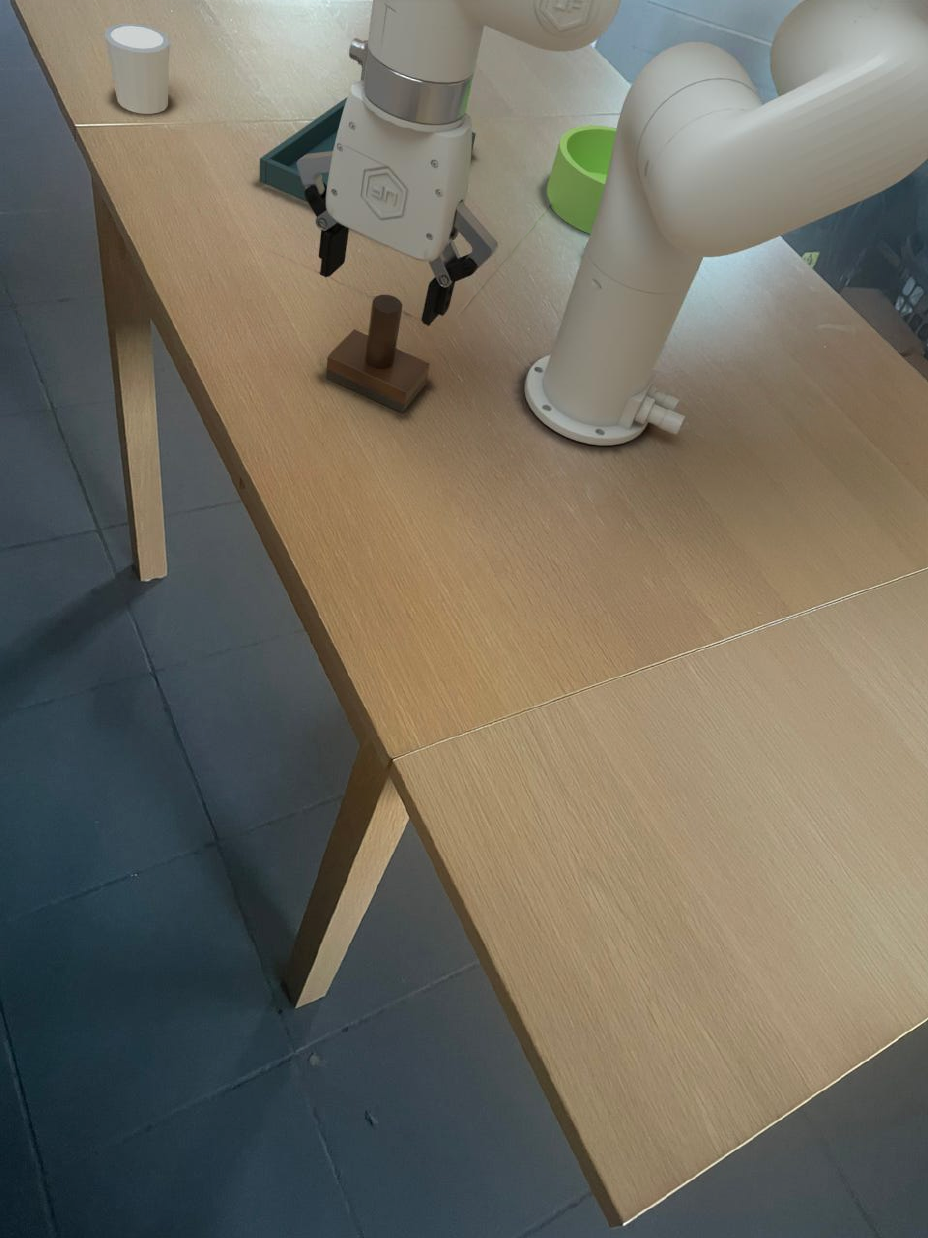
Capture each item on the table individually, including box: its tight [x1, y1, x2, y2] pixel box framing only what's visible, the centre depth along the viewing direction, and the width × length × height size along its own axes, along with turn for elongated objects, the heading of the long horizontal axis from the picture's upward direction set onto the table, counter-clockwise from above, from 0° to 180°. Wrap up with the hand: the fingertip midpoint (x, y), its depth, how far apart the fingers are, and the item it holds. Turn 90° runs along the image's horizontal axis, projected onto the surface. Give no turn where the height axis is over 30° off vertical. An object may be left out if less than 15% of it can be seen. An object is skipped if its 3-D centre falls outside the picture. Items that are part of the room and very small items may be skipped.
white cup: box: [104, 22, 171, 115], centre depth 104 cm, size 7×7×7 cm
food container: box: [546, 124, 617, 235], centre depth 105 cm, size 25×15×13 cm, turn 7°
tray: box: [259, 96, 477, 203], centre depth 107 cm, size 16×24×3 cm, turn 156°
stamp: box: [325, 294, 431, 414], centre depth 83 cm, size 8×5×8 cm, turn 66°
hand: (381, 292), depth 78 cm, fingers open, 9 cm apart
